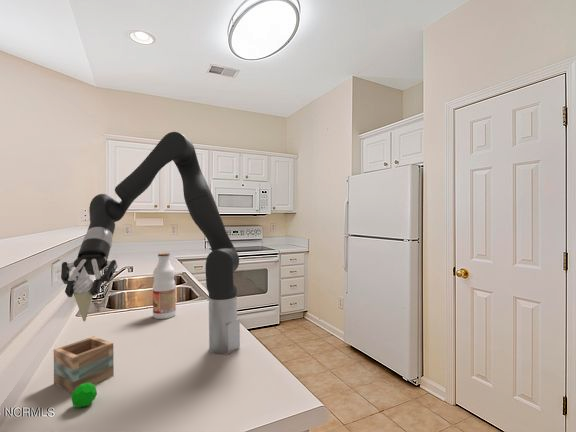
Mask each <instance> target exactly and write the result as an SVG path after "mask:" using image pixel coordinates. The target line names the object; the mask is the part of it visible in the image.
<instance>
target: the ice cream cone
mask: <svg viewBox="0 0 576 432" xmlns="http://www.w3.org/2000/svg"><path fill="white" fill-rule="evenodd" d="M93 282H94V280H92V279H91V278H90V275H88V273H87V271H86V270H85V268H84V266H83V269H82V271H81V273H80V275H79V276H78V281H77V282H76V283H74V287H73V290H74V291H73V296H74V299H75V303H76V305H77V307H78V310H79V313H80V316H81V319H82V321H83V322H86V320H87V317H88V314H89V310H90V307H91V303H92V301H93V297H94V296H92V294H91V289H92V286H93Z"/></svg>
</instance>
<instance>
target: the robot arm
mask: <svg viewBox="0 0 576 432" xmlns="http://www.w3.org/2000/svg"><path fill="white" fill-rule="evenodd" d="M170 162H173V163H174V164H175V167H176V168H177V171H178V173H179V175H180V177H181V181H182V191H183V199H184V202H185V205H186V207H187V210H188V212H189V215H190V217H191V219H192V220H193V222H194V224H195V225H196V226H197V227H198V229H199V230H200V231H201V232H202V233H203V235H204V237H205V238H206V240H207V242H208V244H209V246H210V249H211V252H209V253H208V255H207V257H206V260H205V284H206V290H207V293H208V336H209V337H208V344H209V345H208V348H209V350H208V351H210V352H211V353H213V354H217V355H218V354H220V355H221V354H223V355H224V354H226V355H229V354H230V353H232V352H234V351H236V350H237V349H240V347H241V336H240V335H241V331H240V329H241V326H240V325H241V323H240V320H241V319H240V318H238V289H237V286H235V283H234V272H235V271H237V269H238V268H239V265H240V258H239V257H240V256H239V255H238V254H239V253H238V252H237V250H236V248H235V246H234V244H233V242H232V240H231V239H230V237H229V234H228V233H227V230H226V228H225V225H224V224H225V223H224V222H223V219H222V217H221V214H220V212H219V208H218V206H217V203H216V201H215V198H214V195H213V193H212V192H211V189H210V187H209V185H208V183H207V181H206V179H205V177H204V174H203V172H202V169H201V166H200V164H199V160H198V156H197V153H196V148H195V146H194V144H193V143H192V141H191V140H190V139H189V138H187V137H186V135H184V134H183V133H181V132H178V131H171V132H169V133H166V134H165V135H164V136H163V137H162V138H161V139H160V140H159V141H158V143H157V144H156V145H155V147H154V148H153V149H152V150H151V152H150V153H149V154H148V155H147V156H146V157H145V159H144V160H143V161H142V162H141V163H140V164H139V165H138V166H137V168H135V169H134V170H133V171H132V172H131V173H130V174H129V175H128V176H126V177H125V178H124V179H123V180H122V181H121V182H119V184H117V185H116V186H115V188H114V192H115V194H116V195H117V197H118V198H120V199H121V200H120V202H119V201H117V200H115V199H114V198H113V197H111V196H109V195H108V194H106V193H99V194H96V195H95V196H94V197H93V198H92V199H91V201H90V204H89V209H88V213H89V225H88V228H87V231H86V233H85V235H84V237H83V239H82V242H81V245H80V248H79V251H78V254H77V258H76V259H75V260H74V261H72V262H69V263H68V262H66V261H63V262H62V263H61V270H60V271H61V274H60V280H61V281H62V283H63V284H64V285H66V287H65V290H64V293H65V295H66V296H67V297H68V298H73V296H74V294H73V291H74V290H73V287H74V283H76V282H77V281H78V276H79V275H80V273H81V271H82V269H83V266H84V268H85V270H86V271H87V273H88V275H89V276H94V277H95V279H94V280H93V286H92V289H91V294H92V296H93V297H95V296H97V294H99V292H100V289H101V287H102V284H103V283H104V282H106V283H109V282H110V281H111V279H112V278H113V275H114V274H115V272H116V270H117V269H118V263H117V261H116V260H115V259H113V260H110V261H109V260H108V259H109V258H108V257H109V255H110V251H111V248H112V246H113V244H112V243H113V236H114V233H115V232H114V231H115V229H116V222H119V221H120V220H121V219H122V218H123V217H124V216H125V214H126V213H127V211H128V209H129V208H130V206H131V204H133V202H134V201H135V200H137V198H138V197H140V196H141V195H142V194H143V193H144V192H145V191H146V190H147V189H148V188H149V187H150V186H151V185H152V182H153V181H155V178H156V176H157V174H158V173H159V172H160V171H161V169H163V168H164V167H165V166H166V165H167V164H169V163H170ZM106 267H107V269H106V270H105V271H104V274H103V275H102V272H101V271H103V269H105V268H106ZM73 268H75V269H74V270H73ZM72 270H73V271H72ZM71 271H72V274H71V275H70V272H71Z"/></svg>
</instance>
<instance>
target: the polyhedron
mask: <svg viewBox="0 0 576 432" xmlns="http://www.w3.org/2000/svg"><path fill="white" fill-rule="evenodd" d="M95 385H96V384H95ZM95 385H94V384H92V383H83V384H81V385H80V386H78V387H77V388H76V389H75V390H74V391H73V393H71V395H70V396H71V402H72V405H73V406H74V407H75V408H84V407H85V408H86V407H88V406H89V405H90V404H92V403H93V401H94V400H96V397H97V394H98V393H97V388H96V386H95Z"/></svg>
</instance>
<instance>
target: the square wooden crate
mask: <svg viewBox="0 0 576 432" xmlns="http://www.w3.org/2000/svg"><path fill="white" fill-rule="evenodd" d="M114 375H115V374H114V343H113V342H112V341H108V340H105V339H102V338H101V337H100V338H99V337H96V336H90V337H88V338H84V339H82V340H79V341H76V342H73V343H70V344H67V345H64V346H61V347H58V348H55V349H53V385H56V386H57V387H59V388H62V389H63V390H65V391H66V392H68V393H71V394H72V393H73V391H74V390H75V389H76V388H77V387H78V386H80V385H81V384H83V383H92V384H94V385H97V384H98V383H101V382H102V381H105V380H107V379H109V378H111V377H114Z"/></svg>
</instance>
